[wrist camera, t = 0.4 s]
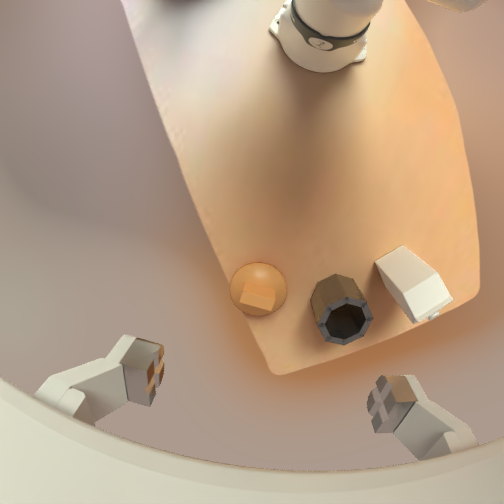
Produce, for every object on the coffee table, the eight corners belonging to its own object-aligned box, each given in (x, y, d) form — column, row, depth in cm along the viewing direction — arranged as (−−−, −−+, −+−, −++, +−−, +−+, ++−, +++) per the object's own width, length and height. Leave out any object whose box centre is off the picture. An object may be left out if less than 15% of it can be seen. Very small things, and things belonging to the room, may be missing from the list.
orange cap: (239, 252, 56) (235, 265, 50) (293, 267, 57) (296, 282, 50) (225, 300, 60) (220, 317, 53) (276, 314, 60) (276, 332, 54)
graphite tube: (322, 269, 56) (332, 292, 47) (364, 282, 57) (380, 305, 47) (305, 310, 60) (310, 338, 50) (346, 321, 60) (357, 348, 50)
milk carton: (374, 261, 55) (413, 305, 37) (402, 244, 54) (449, 282, 36) (385, 287, 57) (422, 337, 39) (412, 271, 55) (456, 315, 37)
